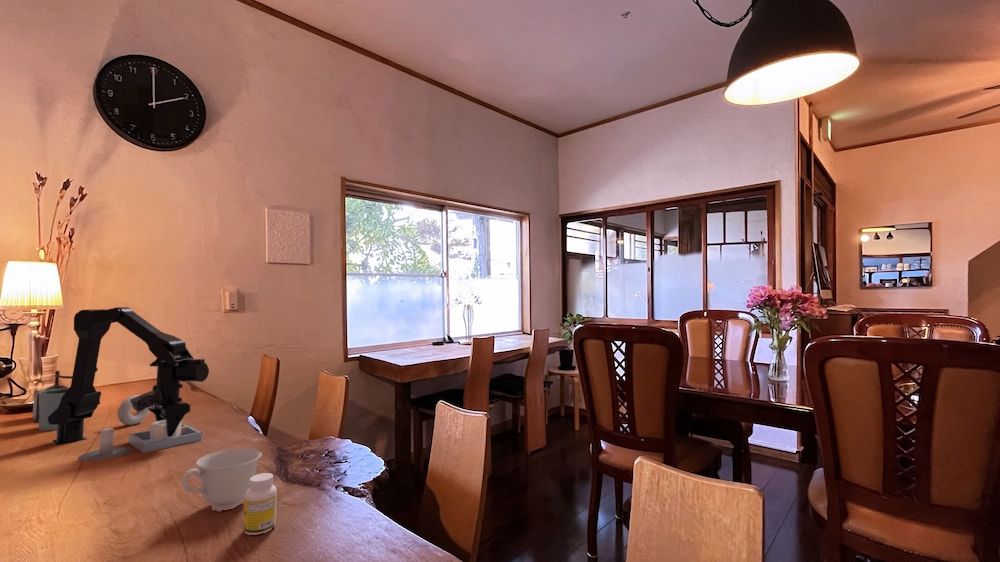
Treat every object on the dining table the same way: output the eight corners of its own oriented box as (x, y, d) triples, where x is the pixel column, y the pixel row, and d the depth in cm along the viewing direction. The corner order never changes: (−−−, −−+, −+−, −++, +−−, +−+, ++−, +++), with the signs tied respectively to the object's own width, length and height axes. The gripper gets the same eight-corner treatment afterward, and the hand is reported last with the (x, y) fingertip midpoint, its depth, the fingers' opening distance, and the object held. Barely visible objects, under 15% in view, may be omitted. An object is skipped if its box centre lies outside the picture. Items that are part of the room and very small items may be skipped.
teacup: (164, 516, 87) (167, 465, 88) (238, 488, 100) (240, 444, 101) (198, 532, 82) (200, 477, 82) (272, 500, 95) (273, 453, 95)
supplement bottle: (251, 522, 85) (254, 471, 86) (280, 521, 86) (282, 471, 86) (237, 537, 80) (240, 482, 81) (268, 536, 80) (270, 482, 81)
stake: (73, 456, 118) (75, 430, 119) (125, 446, 127) (126, 422, 128) (83, 466, 112) (85, 438, 112) (137, 454, 121) (138, 429, 121)
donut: (122, 429, 144) (124, 398, 144) (113, 428, 144) (115, 397, 145) (152, 421, 153) (153, 392, 154) (144, 420, 154) (145, 391, 154)
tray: (128, 444, 129) (129, 434, 129) (184, 433, 140) (184, 423, 140) (143, 454, 121) (144, 443, 121) (201, 442, 132) (201, 432, 132)
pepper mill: (35, 423, 149) (38, 370, 149) (31, 417, 155) (34, 366, 156) (96, 414, 161) (99, 365, 162) (90, 409, 168) (93, 362, 168)
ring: (147, 436, 130) (148, 422, 130) (181, 429, 137) (182, 416, 137) (155, 441, 126) (156, 427, 126) (189, 434, 133) (190, 420, 133)
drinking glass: (46, 424, 147) (48, 388, 148) (85, 421, 152) (87, 386, 152) (29, 433, 138) (31, 394, 139) (71, 429, 142) (73, 392, 143)
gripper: (125, 381, 130) (121, 434, 130) (145, 389, 119) (142, 447, 119) (169, 376, 139) (167, 425, 139) (192, 383, 128) (189, 437, 128)
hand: (165, 433), depth 131 cm, fingers closed on ring, 7 cm apart
